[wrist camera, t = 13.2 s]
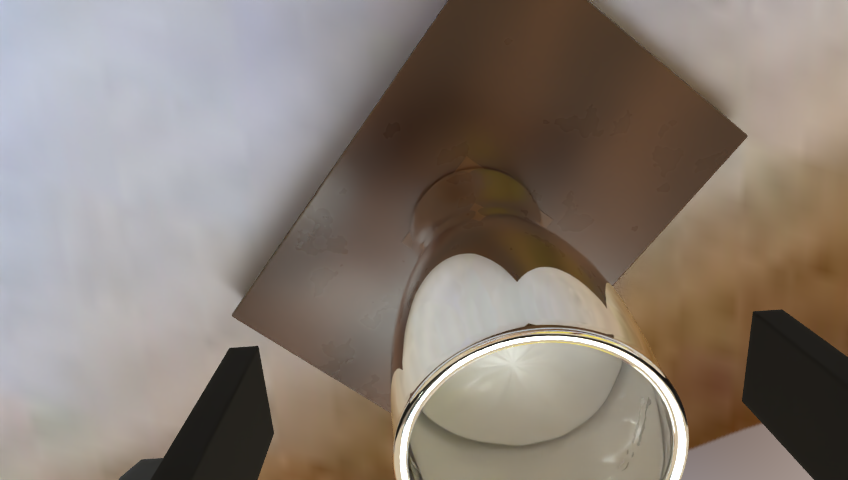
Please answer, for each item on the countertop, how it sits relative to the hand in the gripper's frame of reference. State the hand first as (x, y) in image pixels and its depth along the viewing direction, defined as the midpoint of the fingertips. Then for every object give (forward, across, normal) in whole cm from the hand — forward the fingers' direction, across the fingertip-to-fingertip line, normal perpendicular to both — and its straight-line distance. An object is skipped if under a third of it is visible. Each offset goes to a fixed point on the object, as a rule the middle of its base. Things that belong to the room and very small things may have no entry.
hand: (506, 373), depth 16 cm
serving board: (+14, 0, 0) cm, 14 cm away
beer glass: (+12, 0, 0) cm, 12 cm away
